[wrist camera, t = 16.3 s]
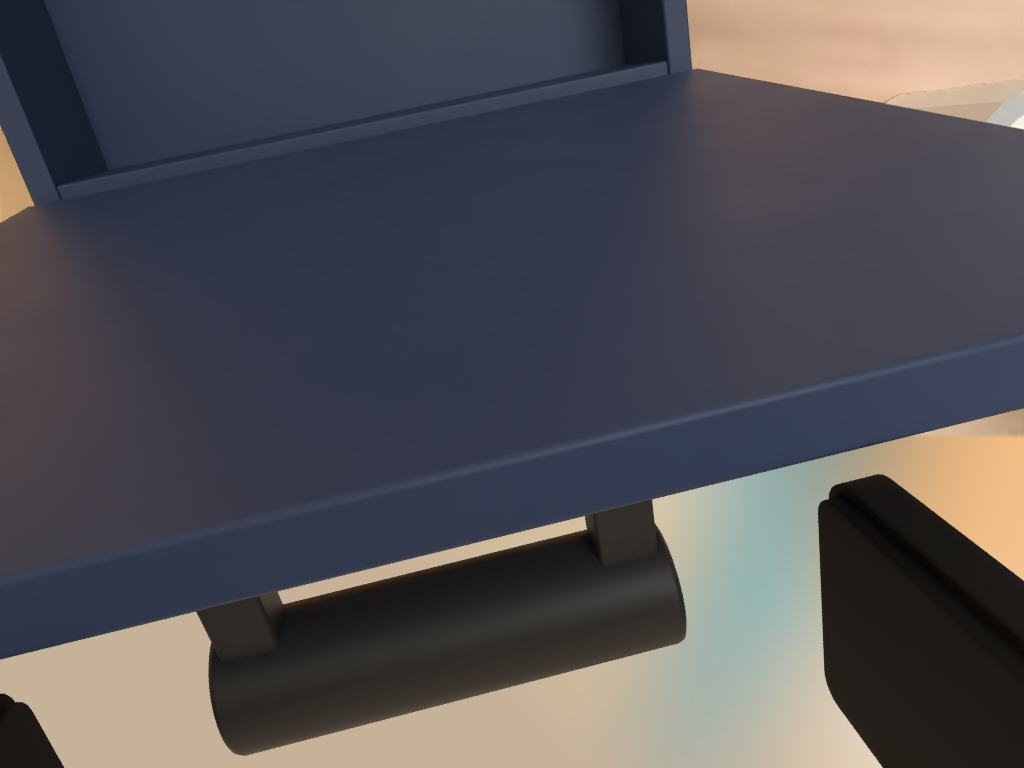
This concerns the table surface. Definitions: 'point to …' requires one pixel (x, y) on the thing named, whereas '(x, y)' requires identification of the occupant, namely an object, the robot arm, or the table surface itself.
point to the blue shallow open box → (291, 75)
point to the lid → (477, 376)
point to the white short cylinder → (973, 102)
